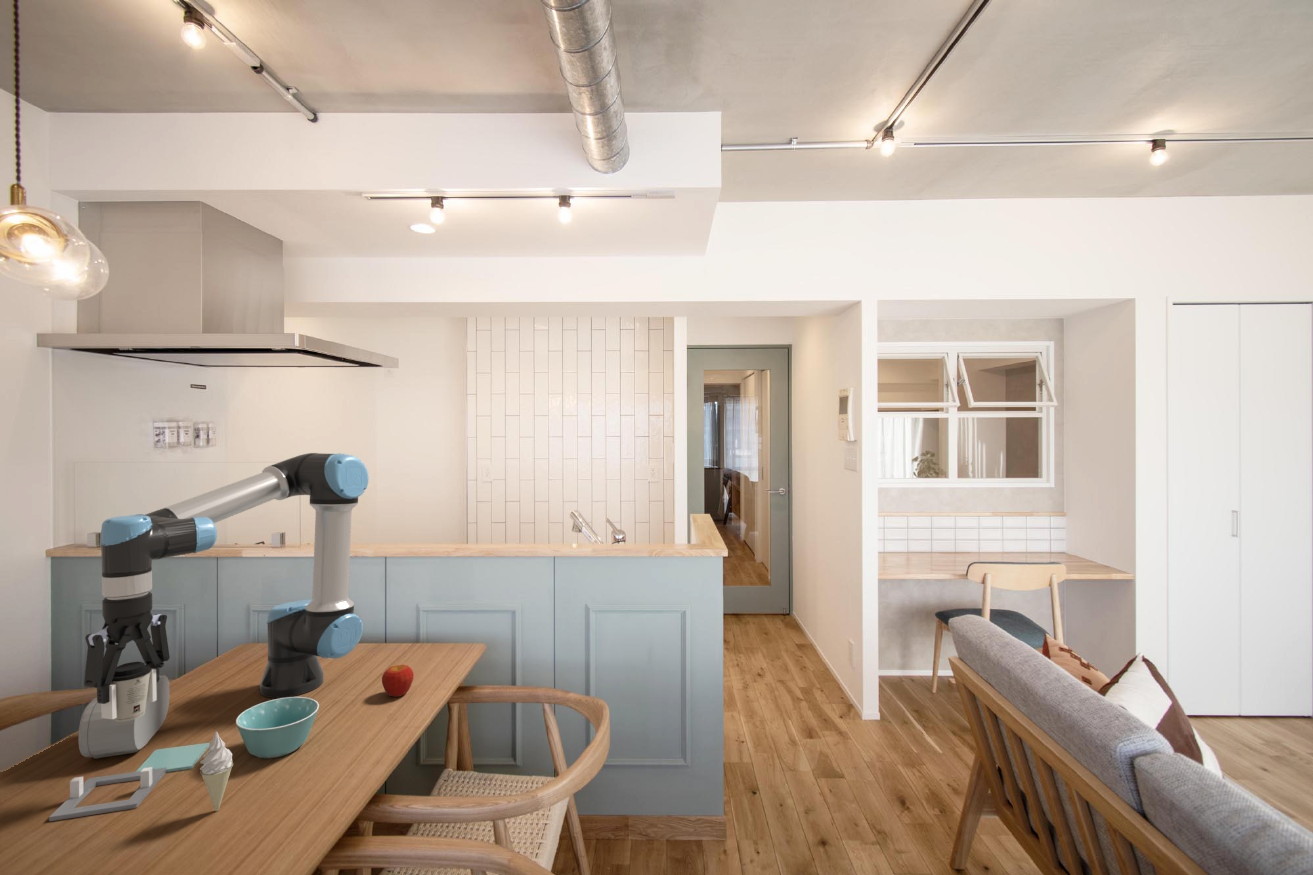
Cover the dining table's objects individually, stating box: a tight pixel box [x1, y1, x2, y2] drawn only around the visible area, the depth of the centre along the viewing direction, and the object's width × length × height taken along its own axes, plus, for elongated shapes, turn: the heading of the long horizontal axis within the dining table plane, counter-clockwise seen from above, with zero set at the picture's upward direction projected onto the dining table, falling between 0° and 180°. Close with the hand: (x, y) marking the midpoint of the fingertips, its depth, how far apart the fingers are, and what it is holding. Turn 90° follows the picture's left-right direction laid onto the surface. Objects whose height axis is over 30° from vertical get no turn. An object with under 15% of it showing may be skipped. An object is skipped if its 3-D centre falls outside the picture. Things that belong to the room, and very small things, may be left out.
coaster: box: [135, 742, 210, 773], centre depth 131 cm, size 10×10×1 cm
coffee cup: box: [111, 661, 152, 722], centre depth 122 cm, size 7×7×10 cm
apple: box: [381, 664, 415, 698], centre depth 165 cm, size 8×8×8 cm
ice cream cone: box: [199, 730, 234, 812], centre depth 114 cm, size 5×5×15 cm
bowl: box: [235, 696, 320, 759], centre depth 137 cm, size 16×16×8 cm
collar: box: [48, 767, 167, 822], centre depth 119 cm, size 13×13×4 cm
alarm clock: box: [78, 675, 170, 759], centre depth 138 cm, size 21×10×13 cm, turn 22°
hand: (129, 708), depth 122 cm, fingers closed on coffee cup, 7 cm apart
